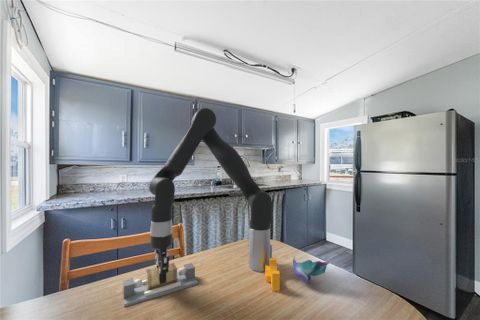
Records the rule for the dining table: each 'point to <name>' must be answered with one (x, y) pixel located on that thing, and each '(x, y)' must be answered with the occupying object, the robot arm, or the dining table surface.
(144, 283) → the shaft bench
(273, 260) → the pipe clamp
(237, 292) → the dining table surface
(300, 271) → the figurine
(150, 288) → the tan tapered block
